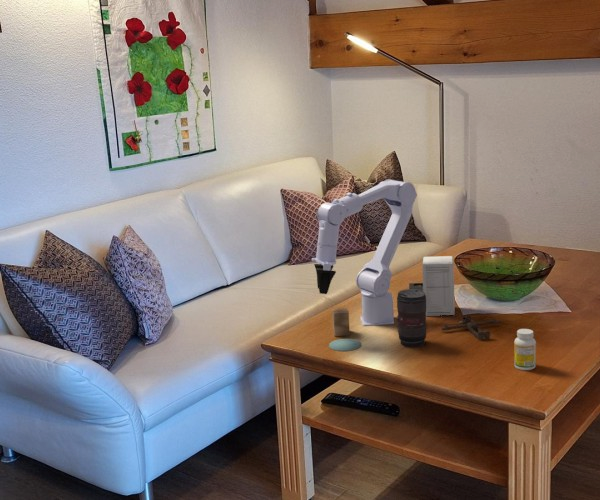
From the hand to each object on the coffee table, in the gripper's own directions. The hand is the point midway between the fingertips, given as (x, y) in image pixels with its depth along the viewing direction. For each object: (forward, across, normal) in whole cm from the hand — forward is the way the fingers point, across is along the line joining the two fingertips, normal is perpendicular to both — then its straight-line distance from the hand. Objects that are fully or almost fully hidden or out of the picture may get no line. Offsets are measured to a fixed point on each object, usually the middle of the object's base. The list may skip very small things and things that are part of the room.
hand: (322, 291), depth 239 cm
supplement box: (+6, -16, +39) cm, 42 cm away
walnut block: (+12, -2, +7) cm, 14 cm away
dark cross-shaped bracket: (+8, +4, +45) cm, 46 cm away
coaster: (+14, +8, +7) cm, 17 cm away
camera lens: (+11, +10, +26) cm, 30 cm away
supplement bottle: (+9, +32, +51) cm, 61 cm away
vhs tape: (+5, -36, +36) cm, 51 cm away
